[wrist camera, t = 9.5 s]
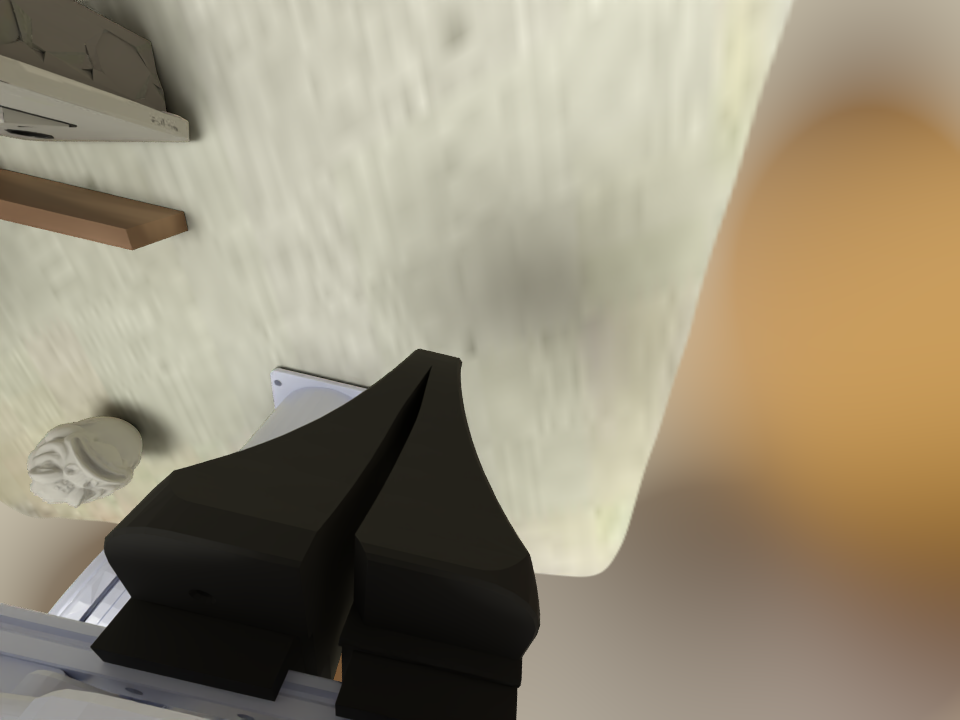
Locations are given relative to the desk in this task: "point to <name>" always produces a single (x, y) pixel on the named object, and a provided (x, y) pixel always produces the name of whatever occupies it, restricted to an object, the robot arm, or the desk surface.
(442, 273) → the desk surface
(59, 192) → the socket dock
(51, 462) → the grey rounded carved piece
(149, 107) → the electrical switch
